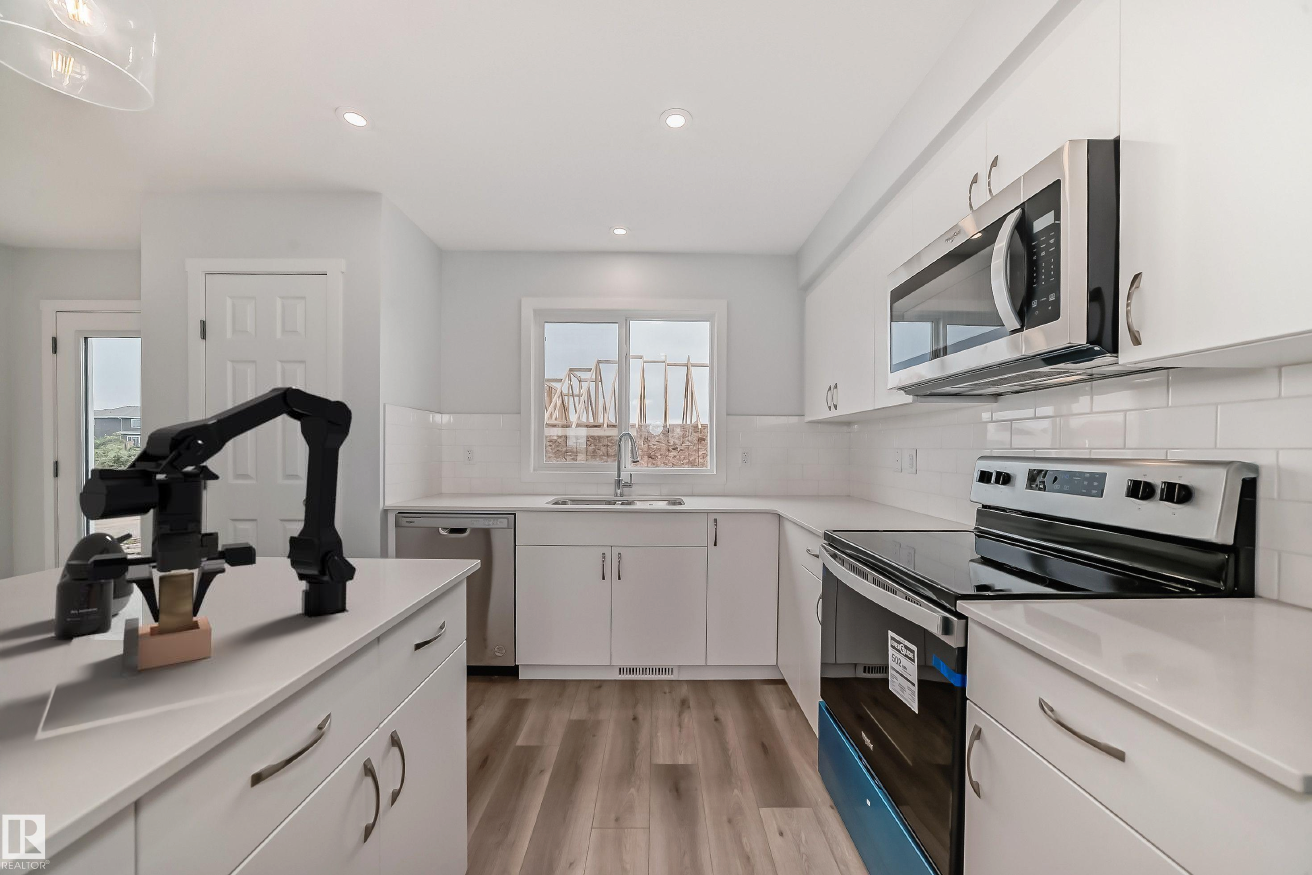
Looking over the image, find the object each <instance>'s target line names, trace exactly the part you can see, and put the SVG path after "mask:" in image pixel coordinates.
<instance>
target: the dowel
mask: <svg viewBox="0 0 1312 875" xmlns="http://www.w3.org/2000/svg"><path fill="white" fill-rule="evenodd" d="M194 594H195V572H192V571H181V572H179V571H178V572H168V573H163V574H161V575H159V576H158V599H157V605H158V612H159V617H158V622H157V624H158V635H163V634H170V633H176V632H183V631H189V630H193V619H194V617H193V604H194Z"/></svg>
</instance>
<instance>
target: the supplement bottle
mask: <svg viewBox="0 0 1312 875" xmlns="http://www.w3.org/2000/svg"><path fill="white" fill-rule="evenodd" d="M89 561H90V559H83V560H75V561H70V562H67V564H66V571H65V574H67V578H65V579H63V580H61V581H60V582H59V581H58V583H57V585H56V590H55V608H54V609H55V610H54V611H55V612H54V624H53V625H54V626H53V627H54V628H53V629H54V632H53V636H54V637H55V638H56V639H59V640H74V638H80V637H88V636H96V635H101V634H105V633H107V632H109V631H110V630H111V629H112V622H113V615H112V606H113V585H114V583H113V579H112V580H102V581H87V575H88V563H89Z"/></svg>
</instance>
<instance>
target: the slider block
mask: <svg viewBox="0 0 1312 875" xmlns="http://www.w3.org/2000/svg"><path fill="white" fill-rule="evenodd" d="M211 657H212V626H211V625H210V621H209V619H208V616H203V617H197V618H196V617H194V618H193V630H189V631H183V632H176V633H170V634H163V635H158V623H154V624H149V625H148V624H147V625H142V626H140V625H139V637H138V671H140V670H145V669H152V668H157V667H163V666H168V665H172V664H178V663H183V662H184V663H185V662H189V661H194V660H200V659H206V658H211Z"/></svg>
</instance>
